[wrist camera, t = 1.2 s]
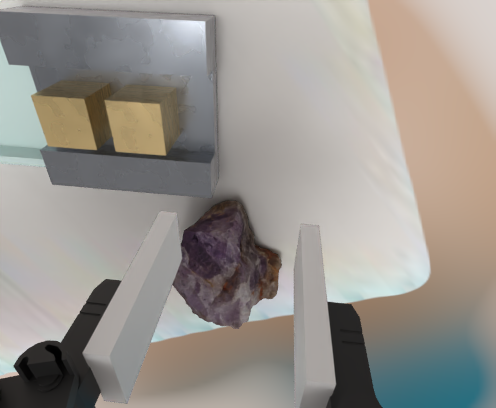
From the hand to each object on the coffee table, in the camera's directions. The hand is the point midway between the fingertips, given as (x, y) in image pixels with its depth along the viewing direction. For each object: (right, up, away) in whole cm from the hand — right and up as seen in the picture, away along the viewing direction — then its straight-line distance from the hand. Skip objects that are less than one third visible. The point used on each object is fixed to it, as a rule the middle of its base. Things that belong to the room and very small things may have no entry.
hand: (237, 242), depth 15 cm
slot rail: (-10, +11, +14) cm, 20 cm away
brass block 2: (-7, +10, +13) cm, 18 cm away
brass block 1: (-13, +10, +13) cm, 21 cm away
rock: (-2, -2, +23) cm, 23 cm away
